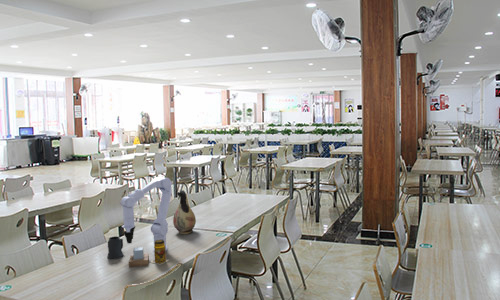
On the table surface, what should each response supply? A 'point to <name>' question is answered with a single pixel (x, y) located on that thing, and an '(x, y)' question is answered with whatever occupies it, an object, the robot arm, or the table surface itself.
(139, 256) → the blue cube
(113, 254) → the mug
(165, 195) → the robot arm
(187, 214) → the ceramic jug
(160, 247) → the condiment
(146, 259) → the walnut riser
